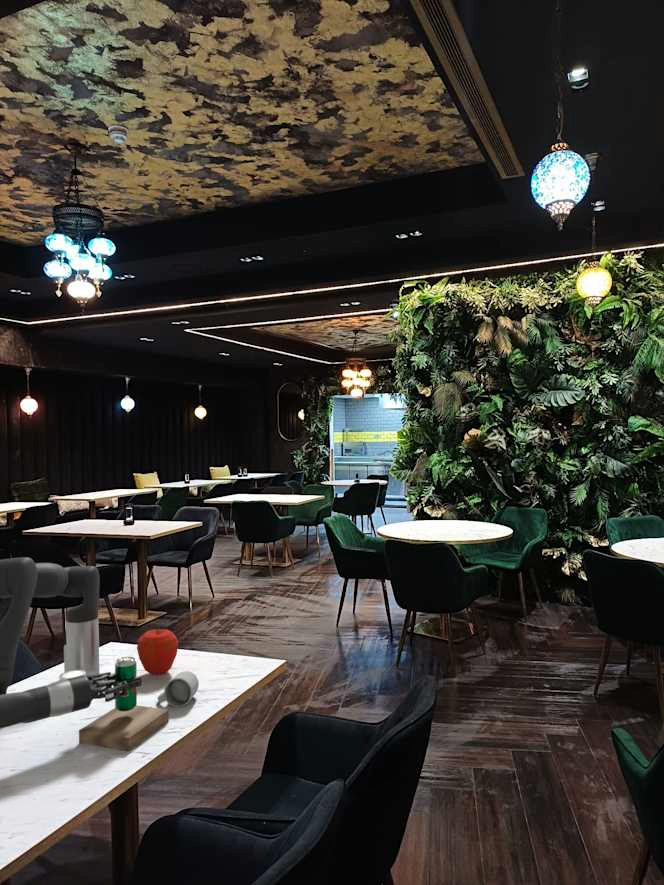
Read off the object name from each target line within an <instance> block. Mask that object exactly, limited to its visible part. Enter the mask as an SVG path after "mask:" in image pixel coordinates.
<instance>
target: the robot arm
mask: <svg viewBox="0 0 664 885" xmlns="http://www.w3.org/2000/svg"><path fill="white" fill-rule="evenodd" d="M100 582H101V581H100V573H99V569H98V567H96V566H93V565H91V566H90V565H86V566H83V565H81V566H79V565H76V566H67V567H66V566H65V567H63V566H62V565H60V564H57V563H52V562H36V563H35V560H33V559H32V558H31V557H26V556H25V557H22V556H21V557H15V558H14V557H13V558H5V559H0V599H6V598H12V600H11V603H10V605H9V608H8V611H7V612H6V613H5V615H4V617H3V618H2V619H1V621H0V730H1V729H4V728H5V729H6V728H8V727H11V726H14V725H18V724H21V723H22V724H29V723H35V722H37V721H41V720H44V719H49V718H54V717H59V716H60V717H61V716H64V715H67V714H72V713H74V712H78V711H81V710H85V709H88V708H89V707H90V706H91V704H92V701H93V700H96V699H97V700H102V699H104V702H106V703H108V702H111V701H115V699H117V698H119V697H122V696H125V695H127V694H128V690H129V689H133V688H137V689H138V688H140V687H141V686H142V685H143V684H142V683H143V682H142V681H143V680H142V679H143V678H142V677H140V676H138V677H136V678H133V679H129V680H124V681H116V680H115V672H114V673H112V672H110V671H109V672H108V671H107V672H103V673H100V634H99V632H100V629H99V607H100ZM57 596H62V597H68V598H83V602H82V603H81V604H80V605H78V606H77V605H76V606H75V607H72V608H69V609H68V610H67V611H66V612H65V613H66V614H65V632H66V633H65V634H66V636H65V637H66V644H64V646H63V665H64V666H63V667H64V672H68V671H72V670H83V671H85V672H86V676H84V675H82V676H78V677H74V678H70V679H66V680H62V681H60V680H58V681H54V682H52V683H49V684H47V685H42V686H39V687H34V688H30V689H27V690H23V691H21V692H19V691H17V692H10V693H7V691H8V688H9V687H10V684H11V683H12V680H13V675H14V668H15V662H16V658H17V657H16V656H17V651H18V647H19V642H20V638H21V634H22V631H23V629H24V625H25V622H26V619H27V616H28V614H29V610H30V606H31V604H32V600H33V598H53V597H57ZM64 672H63V673H64ZM117 685H118V686H117ZM121 688H122V689H121Z"/></svg>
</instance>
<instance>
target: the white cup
mask: <svg viewBox="0 0 664 885" xmlns="http://www.w3.org/2000/svg"><path fill="white" fill-rule="evenodd" d="M82 675H84V676H86V672H85V671H83V670H72V671H68V672H62V673H60V674H59V676H58V677H59V681H62V680H66V679H70V678H74V677H78V676H82Z"/></svg>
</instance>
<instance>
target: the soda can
mask: <svg viewBox="0 0 664 885" xmlns="http://www.w3.org/2000/svg"><path fill="white" fill-rule="evenodd" d="M114 673H115V680H116V681H124V680H129V679H133V678H136V677H137V674H138V673H137V661H136V658H135V657H133V656H123V657H119V658H118V659H116V662H115V664H114ZM117 686H118V685H117ZM121 689H122V688H121ZM137 690H138V687H137V688H133V689H129V690H128V694H127V695H125V696H122V697H119V698H117V699H114V708H116V709H117V710H118V711H129V710H132V709H134V708H135V706H136V705H137V704H138V702H137V699H138V697H137V695H138V694H137V693H138V692H137Z"/></svg>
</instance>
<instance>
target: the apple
mask: <svg viewBox="0 0 664 885" xmlns="http://www.w3.org/2000/svg"><path fill="white" fill-rule="evenodd" d="M178 649H179V642H178V638H177V636H176V635H175V634H174V633H173V631H171V630H169V629H159V628H158V627H157V629H151V630H147V631H146V632H144V633H143V634H142V635H141V636H140V637H139V640H138V643H137V646H136V650H137V655H138V660H139V661H140V663H141V665H142V667H143V669H144V671H146V672H147V673H149V674H150V675H152V676H162V675H167V673H168V672H169V671H170V670H171V669H172V667H173V665H174V662H175V659H176V657H177V653H178Z"/></svg>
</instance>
